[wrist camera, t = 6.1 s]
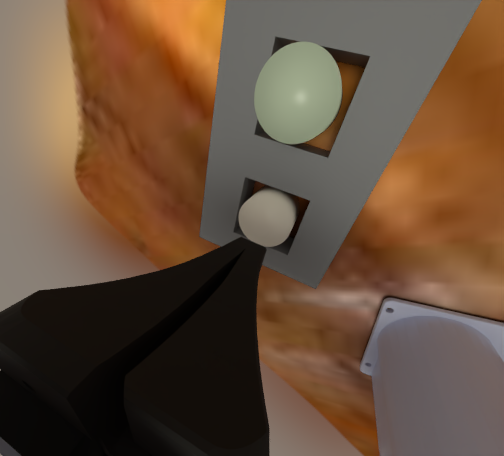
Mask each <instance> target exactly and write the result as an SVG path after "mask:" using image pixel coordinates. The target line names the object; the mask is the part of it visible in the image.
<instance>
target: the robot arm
mask: <svg viewBox="0 0 504 456" xmlns="http://www.w3.org/2000/svg"><path fill="white" fill-rule="evenodd" d="M266 251H267V249H266V247H264V246H262V245H259V244H257V243H255V242H252V241H250V240H248V239H245V238H243V237H239V238H237V239H235V240H233V241H231V242H229V243H227V244H225V245H223V246H221V247H219V248H217V249H215V250H213V251H211V252H209V253H207V254H204V255H202V256H200V257H197V258H195V259H192V260H190V261H187V262H184V263H182V264H179V265H176V266H173V267H170V268H167V269H163V270H160V271H156V272H152V273H148V274H144V275H139V276H135V277H131V278H126V279H121V280H116V281H110V282H104V283H98V284H92V285H84V286H76V287H67V288H58V289H50V290H39V291H37V292H35V293H33V294H32V295H30V296H28V297H26V298H25V299H23V300H21V301H19V302H18V303H16V304H14V305H12V306H11V307H9V308H7V309H5V310H3V311H2V312H0V369H1V371H0V453H1V454H2V455H3V456H269V424H268V418H267V412H266V406H265V399H264V393H263V387H262V380H261V372H260V363H259V351H258V340H257V321H256V303H257V286H258V278H259V272H260V269H261V266H262V263H263V260H264V257H265V254H266ZM387 308H391V309H387ZM360 371H361V372H362V373H364V374H367V375H370V376H372V385H373V395H374V405H375V415H376V424H377V434H378V444H379V451H380V456H504V323H501V322H497V321H493V320H488V319H484V318H479V317H475V316H471V315H466V314H462V313H457V312H453V311H448V310H444V309H440V308H435V307H431V306H426V305H422V304H418V303H413V302H409V301H404V300H400V299H395V298H386V299H384V301H383V303H382V306H381V309H380V311H379V314H378V317H377V320H376V322H375V325H374V328H373V331H372V333H371V336H370V339H369V341H368V344H367V347H366V350H365V352H364V355H363V358H362V361H361V363H360Z"/></svg>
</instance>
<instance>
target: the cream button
mask: <svg viewBox="0 0 504 456" xmlns="http://www.w3.org/2000/svg"><path fill="white" fill-rule="evenodd" d="M299 211H300V204H299V200H298V198H297V196H296V195H293V194H291V193H288V192H285V191H282V190H280V189H277V188H274V187H271V186H269V185H266V186H264V187H262V188H261V189H260V190H259V191H258V192H256V193H255V194H254V195H253V196H252V197H251V198H249V199H248V200H247V201H246V202H245V203H244V204H243V205H242V207H241V209H240V211H239V225H240V227H241V230H242V232H243V233H244V234H245V236H246V237H247V238H248V239H249V240H251V241H252V242H255V243H257V244H259V245H262V246H265V247H273V246H277V245H279V244H281V243H283V242H284V241H285V240H286V239H287V238H288V236H289V234H290V232H291V230H292V228H293V226H294V224H295V221H296V219H297V217H298V215H299Z"/></svg>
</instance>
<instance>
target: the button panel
mask: <svg viewBox="0 0 504 456" xmlns="http://www.w3.org/2000/svg"><path fill="white" fill-rule="evenodd" d="M481 1H482V0H226V7H225V16H224V25H223V34H222V42H221V51H220V60H219V69H218V78H217V86H216V95H215V104H214V113H213V122H212V130H211V139H210V148H209V157H208V166H207V174H206V183H205V192H204V201H203V210H202V218H201V227H200V236H199V237H201V238H203V239H206V240H208V241H210V242H212V243H215V244H217V245H219V246H223V245H225V244H227V243H229V242H231V241H233V240H235V239H237V238H239V237H243V238H245V239H248V238H247V237H246V236H245V234H244V233H243V232H242V230H241V227H240V225H239V211H240V209H241V207H242V205H243V204H244V203H245V202H246V201H247V200H248V199H249V198H251V196H252V192H253V188H254V184H255V181H258V182H260V183H263V184H266V185H269V186H271V187H274V188H277V189H280V190H282V191H285V192H288V193H291V194H293V195H296V196H299V197H302V198H304V199H307V200H310V203H309V205H308V208H307V210H306V212H305V215H304V217H303V220H302V222H301V224H300V227H299V229H298V232H297V234H296V236H295V239H294V238H292V237H289V236H288V238H287V239H286V240H285V241H284V242H283V243H281V244H279V245H277V246H273V247H266V249H267V251H266V254H265V257H264V260H263V263H262V265H264V266H266V267H268V268H270V269H272V270H275V271H277V272H279V273H281V274H284V275H286V276H288V277H290V278H292V279H295V280H297V281H299V282H301V283H304V284H306V285H308V286H310V287H312V288H315V289H316V288H317V286H318V284H319V283H320V281H321V279H322V277H323V276H324V274H325V272H326V270H327V269H328V267H329V265H330V263H331V262H332V260H333V258H334V257H335V255H336V253H337V251H338V250H339V248H340V246H341V244H342V243H343V241H344V239H345V237H346V236H347V234H348V232H349V230H350V229H351V227H352V225H353V223H354V222H355V220H356V218H357V216H358V215H359V213H360V211H361V210H362V208H363V206H364V204H365V203H366V201H367V199H368V197H369V196H370V194H371V192H372V190H373V189H374V187H375V185H376V183H377V182H378V180H379V178H380V176H381V175H382V173H383V171H384V169H385V168H386V166H387V164H388V162H389V161H390V159H391V157H392V156H393V154H394V152H395V150H396V149H397V147H398V145H399V143H400V142H401V140H402V138H403V136H404V135H405V133H406V131H407V129H408V128H409V126H410V124H411V122H412V121H413V119H414V117H415V115H416V114H417V112H418V110H419V109H420V107H421V105H422V103H423V102H424V100H425V98H426V96H427V95H428V93H429V91H430V89H431V88H432V86H433V84H434V82H435V81H436V79H437V77H438V75H439V74H440V72H441V70H442V68H443V67H444V65H445V63H446V61H447V60H448V58H449V56H450V55H451V53H452V51H453V49H454V48H455V46H456V44H457V42H458V41H459V39H460V37H461V35H462V34H463V32H464V30H465V28H466V27H467V25H468V23H469V21H470V20H471V18H472V16H473V14H474V13H475V11H476V9H477V8H478V6H479V4H480V2H481ZM295 42H311V43H315V44H317V45H319V46H321V47H323V48H324V49H326V50H327V51H328V52H329V53H330V54H331V55H332V57H333V58H334V60H335V61H339V62H343V63H348V64H352V65H357V66H362V67H366V68H365V70H364V73H363V75H362V78H361V80H360V82H359V85H358V87H357V90H356V92H355V94H354V97H353V99H352V102H351V104H350V106H349V109H348V111H347V114H346V116H345V118H344V121H343V123H342V126H341V128H340V131H339V133H338V135H337V138H336V140H335V143H334V145H333V147H332V150H331V152H330V151H327V150H324V149H320V148H317V147H314V146H311V145H307V144H304V143H299V144H286V143H282V142H279V141H277V140H275V139H273V138H272V137H271V136H269V135H268V134H267V133H266V132H265V131H264V129H263V128H262V126H261V125H260V123H259V121H258V118H257V115H256V112H255V106H254V93H255V87H256V83H257V79H258V77H259V74H260V72H261V70H262V68H263V67H264V65H265V63H266V62H267V61H268V60H269V58H270V57H271V56H272V55H273V54H274V53H275V52H277V51H278V50H279V49H281V48H283V47H284V46H286V45H289V44H291V43H295ZM248 240H249V239H248ZM250 241H251V240H250ZM264 247H265V246H264Z"/></svg>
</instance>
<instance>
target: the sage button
mask: <svg viewBox="0 0 504 456" xmlns="http://www.w3.org/2000/svg"><path fill="white" fill-rule="evenodd" d="M341 102H342V82H341V76H340V72H339V68H338V66H337V64H336V61H335V60H334V58H333V57H332V55H331V54H330V53H329V52H328V51H327V50H326V49H324V48H323V47H321V46H319V45H317V44H315V43H311V42H295V43H291V44H289V45H286V46H284V47H283V48H281V49H279V50H278V51H277V52H275V53H274V54H273V55H272V56H271V57H270V58H269V60H268V61H267V62H266V63H265V65H264V67H263V68H262V70H261V72H260V74H259V77H258V79H257V83H256V87H255V93H254V106H255V112H256V115H257V118H258V121H259V123H260V125H261V126H262V128H263V129H264V131H265V132H266V133H267V134H268V135H269V136H271V137H272V138H273V139H275V140H277V141H279V142H282V143H286V144H299V143H303V142H306V141H309V140H311V139H313V138H314V137H316V136H317V135H319V134H320V133H322V132H323V131H325V130H326V129H327V128H328V127H329V126H330V125H331V124H332V122H333V121H334V120H335V118H336V116H337V114H338V112H339V110H340V107H341Z"/></svg>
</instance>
